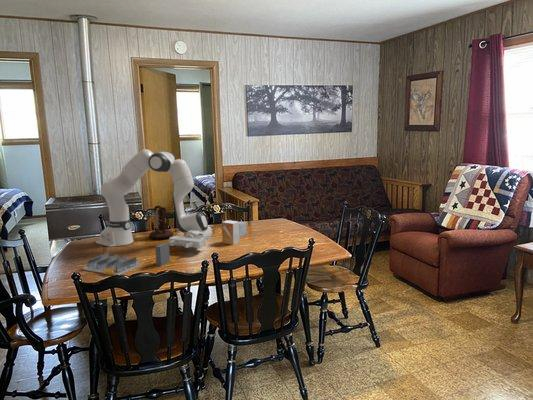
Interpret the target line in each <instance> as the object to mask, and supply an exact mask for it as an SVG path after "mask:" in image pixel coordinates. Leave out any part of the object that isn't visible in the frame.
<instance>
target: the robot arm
mask: <svg viewBox="0 0 533 400" xmlns="http://www.w3.org/2000/svg"><path fill="white" fill-rule="evenodd" d="M150 169H151V170H152V171H154V172H159V173H167V172H168V173H169V174H170V175H171V179H172V181H173V190H172V196H171V197H172V203H173V209H174V213H175V225H176V228H177V229H178V231H180V232H181V233H182V234H183V233H184V234H185V235H179V234H177V235H172V237H171V236H170V237H168V243H169V247H170V246H171V247H174V246H181V247H184V248H185V249H187V248H196V249H199V248H203V247H205V246H206V241H209V239H210V238H211V237H212V234H213V231H212V228H211V226H209V223H208V219H207V216H206V215H205V214H204V213H203V212H201V211H198V212H194V213H193V212H192V213H190V214H186V212H185V206H184V198H185V197H186V196H187V195H188V194H189V193H191V191H192V190H193V189H194V186H195V181H194V177H193V176H192V172H191V169H190V167H189V166H188V163H187V161H186V160H184V159H183V158H178V159H177V158H176V155H175V154H174V153H173V152H170V151H159V152H152V150H150V149H147V148H143V149H142V150H140V151H138V152H137V153H136V154H135V155H134V156H132V158H130V160H129V161H128V162H127V163H126V164H125V165H124V166H123V167H122V170H121V171H120V174H118V176H117V177H114V178H113V179H109V180H107V181H105V182H104V183H103V184H102V185H101V186H100V190H99V191H100V193H101V196H102V197H103V198H104V199H105V202H106V204H107V207H108V214H109V220H107V221H106V224H107V226H106V227H105V228H104V229H103V230H102V231H101V232H100V233H99V239H97V240H96V241H95V243H96V244H99V245H102V246H105V247H110V248H111V247H112V248H113V247H118V246H120V247H121V246H126V245H131V244H132V243H134V241H135V240H134V237H133V233H132V229H131V228H132V227H131V223H132V222H131V219H130V211H129V210H130V209H129V205H128V204H127V203H126V200H125V197H124V196H126V195H129V193H130V192H131V191H132V190H133V189H134V187H135V186H136V184H137V182H139V180H140V179H141V178H142V177H143V176H144V175H145V174H146V173H147V172H148V171H149V170H150Z"/></svg>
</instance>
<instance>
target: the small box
mask: <svg viewBox="0 0 533 400" xmlns="http://www.w3.org/2000/svg"><path fill="white" fill-rule="evenodd" d="M239 222H240V221H237V220H229V219H227V220H224V221H222V222H221V228H222V229H221V230H222V231H221V232H222V233H221V235H222V236H221V241H222V244H227V245H230V246H231V245H232V246H234V245H236V244H238V243H240V237H239Z"/></svg>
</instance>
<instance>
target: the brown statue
mask: <svg viewBox="0 0 533 400" xmlns="http://www.w3.org/2000/svg"><path fill="white" fill-rule="evenodd" d="M153 213H154V217H153V218H154V220H153V221H154V222H153V223H154V224H153V225H154V228H155V229H156V230H153V231H151V232H150V233H149V235H148V236H149V238H152V239H156V240H157V241H158V240H159V239H165V238H170V237H173V236H174V231H172V230H170V229H167V228H168V224H167V222H166V216H165V215H167V209H166V207H165V206H164V207H163V206H161V205H155V206H154V208H153Z"/></svg>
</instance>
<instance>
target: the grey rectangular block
mask: <svg viewBox="0 0 533 400" xmlns="http://www.w3.org/2000/svg"><path fill="white" fill-rule="evenodd" d="M154 248H155V249H154V250H155V264H156V267H163V266H165V265H167V264H170V262H171V257H170V244H169V242H163V243H160V244H158V245H155V247H154Z"/></svg>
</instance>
